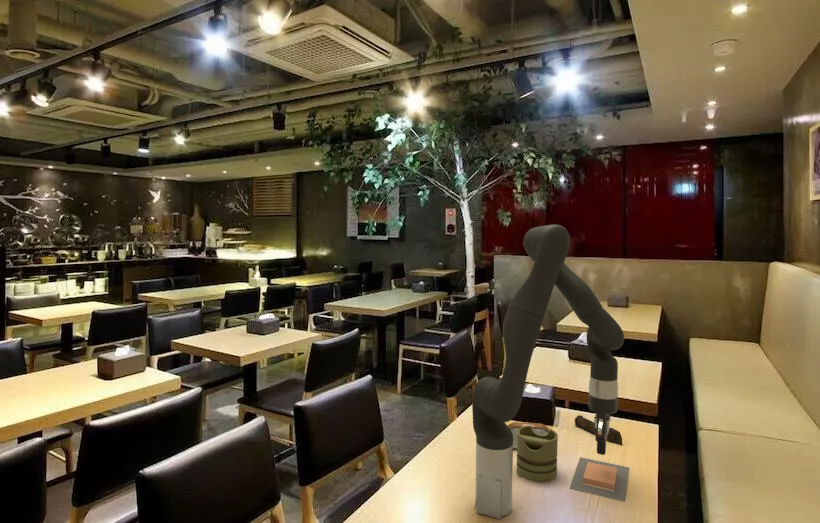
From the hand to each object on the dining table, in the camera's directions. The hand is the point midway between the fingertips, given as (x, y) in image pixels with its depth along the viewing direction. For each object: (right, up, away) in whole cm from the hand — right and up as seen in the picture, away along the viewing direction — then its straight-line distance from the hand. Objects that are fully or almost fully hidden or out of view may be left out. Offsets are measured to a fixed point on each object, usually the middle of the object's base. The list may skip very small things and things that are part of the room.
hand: (601, 453), depth 139 cm
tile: (+2, -6, +5) cm, 8 cm away
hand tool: (+11, -6, +30) cm, 33 cm away
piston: (-17, -8, +5) cm, 19 cm away
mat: (0, -8, +2) cm, 8 cm away
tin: (-16, -7, +20) cm, 26 cm away
